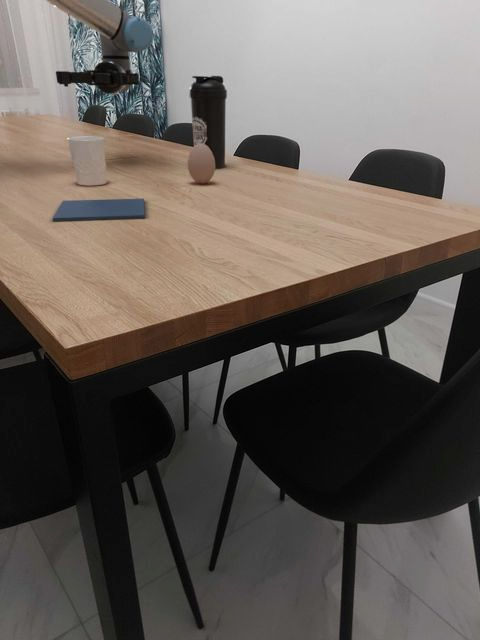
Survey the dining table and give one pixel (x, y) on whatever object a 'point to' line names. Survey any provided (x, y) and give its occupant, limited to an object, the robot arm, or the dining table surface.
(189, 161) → the egg
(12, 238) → the dining table surface
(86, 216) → the glassware mat
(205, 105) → the water bottle
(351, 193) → the dining table surface
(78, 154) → the white cup
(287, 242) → the dining table surface
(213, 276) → the dining table surface
